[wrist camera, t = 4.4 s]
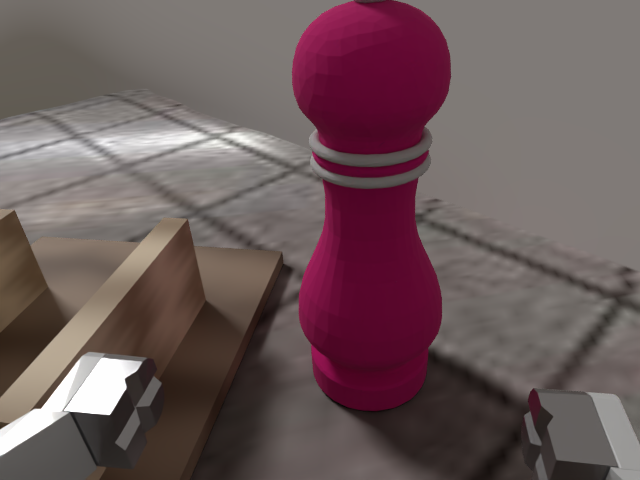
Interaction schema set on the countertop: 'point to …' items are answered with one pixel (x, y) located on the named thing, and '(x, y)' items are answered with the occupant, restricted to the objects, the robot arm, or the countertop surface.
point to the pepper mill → (370, 197)
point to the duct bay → (131, 325)
